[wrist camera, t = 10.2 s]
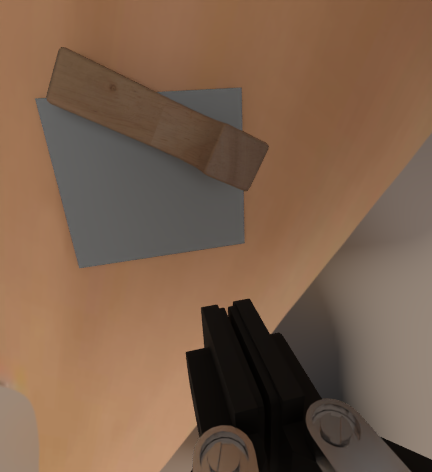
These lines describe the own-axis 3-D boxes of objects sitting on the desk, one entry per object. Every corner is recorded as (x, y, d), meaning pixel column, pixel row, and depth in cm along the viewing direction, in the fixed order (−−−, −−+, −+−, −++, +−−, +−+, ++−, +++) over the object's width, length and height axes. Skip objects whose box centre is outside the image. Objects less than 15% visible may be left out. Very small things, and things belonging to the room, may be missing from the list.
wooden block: (271, 145, 27) (43, 32, 20) (248, 193, 28) (26, 101, 22) (240, 135, 35) (69, 52, 28) (223, 173, 36) (56, 101, 30)
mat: (240, 87, 33) (241, 87, 33) (243, 241, 41) (244, 243, 40) (36, 98, 30) (35, 98, 29) (80, 266, 37) (79, 268, 36)
